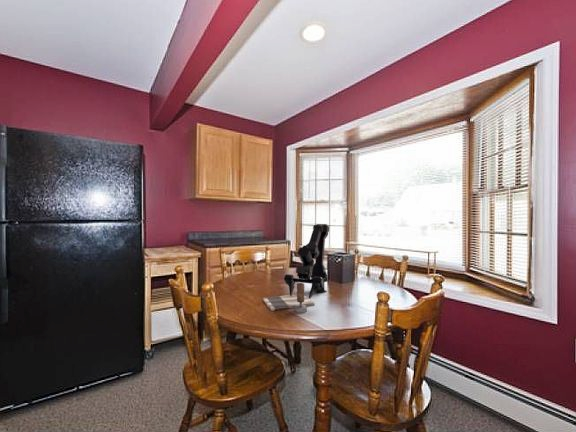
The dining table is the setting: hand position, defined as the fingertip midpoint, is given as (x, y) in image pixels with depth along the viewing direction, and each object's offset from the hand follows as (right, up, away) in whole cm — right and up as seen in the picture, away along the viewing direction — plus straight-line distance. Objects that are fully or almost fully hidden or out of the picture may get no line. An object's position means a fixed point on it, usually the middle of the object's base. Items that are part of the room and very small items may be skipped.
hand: (299, 297), depth 129 cm
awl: (+1, -7, +1) cm, 7 cm away
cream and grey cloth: (-5, -7, +13) cm, 15 cm away
